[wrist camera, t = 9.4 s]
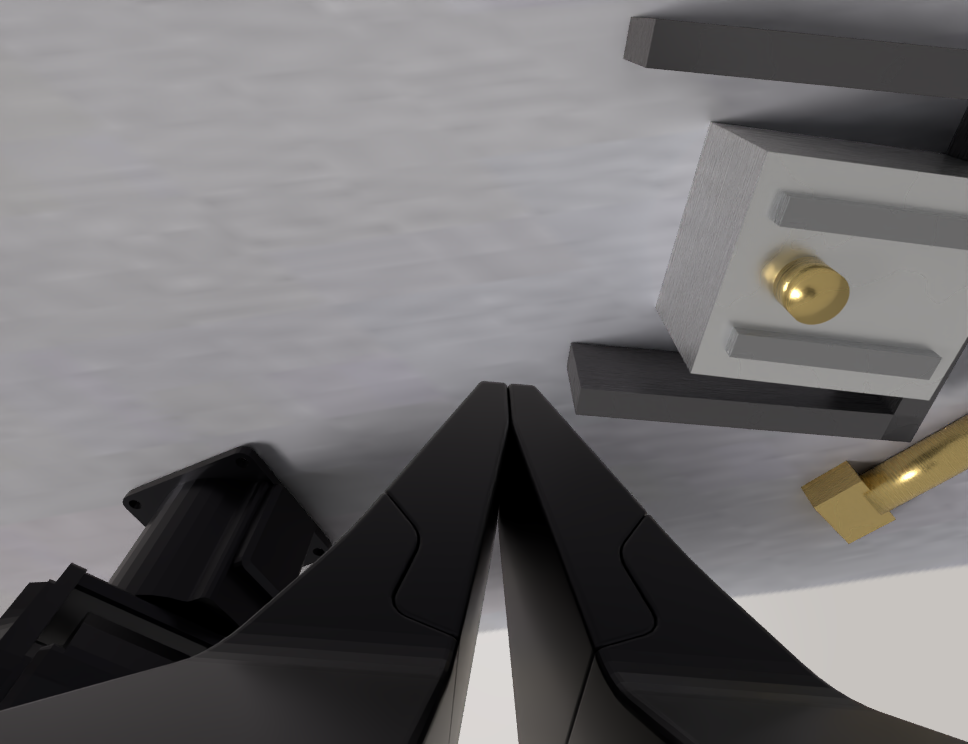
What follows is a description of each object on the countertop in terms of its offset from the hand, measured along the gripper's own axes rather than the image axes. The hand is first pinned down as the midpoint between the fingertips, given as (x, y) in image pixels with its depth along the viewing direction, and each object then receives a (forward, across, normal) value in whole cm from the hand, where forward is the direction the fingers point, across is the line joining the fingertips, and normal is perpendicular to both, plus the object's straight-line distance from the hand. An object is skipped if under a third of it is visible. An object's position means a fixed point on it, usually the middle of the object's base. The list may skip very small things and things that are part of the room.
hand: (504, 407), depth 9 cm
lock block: (+11, -9, 0) cm, 15 cm away
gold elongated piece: (+11, -17, +8) cm, 22 cm away
